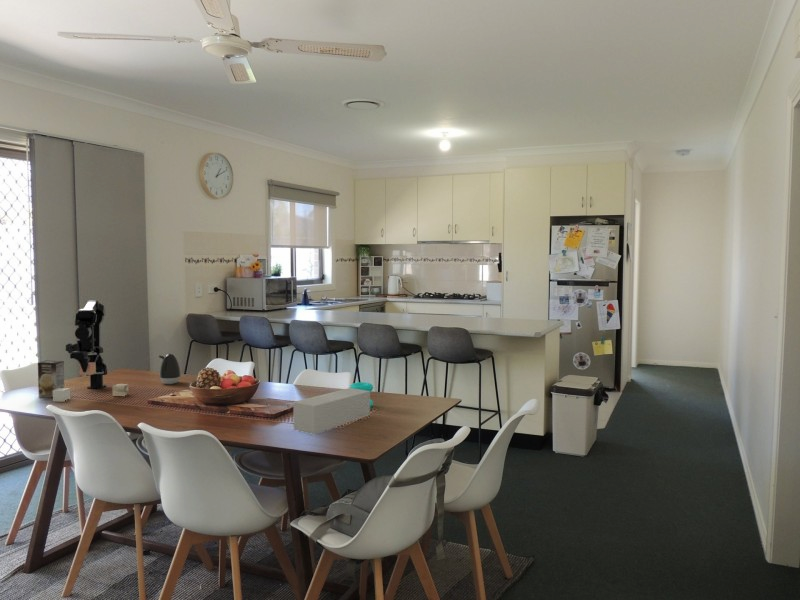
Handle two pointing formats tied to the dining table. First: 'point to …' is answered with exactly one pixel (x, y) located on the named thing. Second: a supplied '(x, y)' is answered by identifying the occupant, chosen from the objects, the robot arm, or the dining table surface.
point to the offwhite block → (61, 394)
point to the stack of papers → (330, 410)
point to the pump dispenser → (169, 369)
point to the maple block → (120, 389)
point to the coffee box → (50, 377)
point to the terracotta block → (88, 369)
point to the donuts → (363, 388)
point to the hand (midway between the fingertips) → (87, 371)
